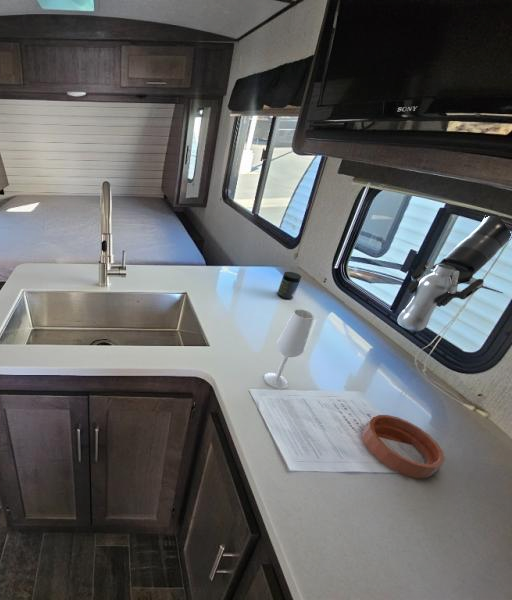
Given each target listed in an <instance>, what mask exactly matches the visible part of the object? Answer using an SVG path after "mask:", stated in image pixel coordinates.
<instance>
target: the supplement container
mask: <svg viewBox="0 0 512 600" xmlns="http://www.w3.org/2000/svg"><path fill="white" fill-rule="evenodd" d="M301 280H302V275H301V274H299V273H296V272H294V271H284V272H283V276H282V278H281V281H280V284H279V287H278V290H277V296H278V297H280V298H281V299H282V300H293V299H294V298H295V295H296V293H297V289H298V287H299V285H300V282H301Z"/></svg>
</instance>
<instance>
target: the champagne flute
mask: <svg viewBox="0 0 512 600" xmlns="http://www.w3.org/2000/svg"><path fill="white" fill-rule="evenodd" d="M314 317H315V316H314V314H313V313H312V312H311V311H308V310H306V309H302V308H296V309H294V310H293V312H292V314H291V315H290V317H289V319H288V321H287V322H286V325H285V327H284V328H283V330H282V332H281V334H280V336H279V338H278V340H277V342H276V346H277V349H278V351H279V353H280V354H281V355H282V359H281V362H280V364H279V366H278V369H277V371H276V373H275V372H267V373H266V374H264V376H263V378H264V381H265V383H266V384H267V385H269V386H270V387H272V388H275V389H278V390H284V389H287V388H288V387H289V381H288V380H287V379H286V378H285V377H284V376H283V375H282V374H283V371H284V369H285V366H286V364H287V361H288V359H289V358H290V359H291V358H296V357H299V356H301V355H303V353H304V351H305V348H306V344H307V340H308V337H309V334H310V331H311V328H312V324H313V321H314Z"/></svg>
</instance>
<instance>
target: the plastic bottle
mask: <svg viewBox="0 0 512 600" xmlns="http://www.w3.org/2000/svg"><path fill="white" fill-rule="evenodd" d="M437 264H438V263H437ZM433 271H434V273H432V274H429V275H427V276H425V275H424V276H425V277H423V276H422V277H423V278H422V279H421V280H420V282H419V285H418V287H417V290H416V292H415V293H414V294H413V295H412V298H411V300H410V302H409V303H408V304H407V306H405V308H404V309H403V310H402V311H401V312H400V313H399V315H398V316H397V319H396V321H397V324H398V325H399V326H401V327H402V328H404V329H406V330H409V331H413V332H420V331H423V330H424V329H425V328H426V327H428V325H429V322H430V319H431V316H432V315H433V313H434V311H435V309H436V307H437V306H436V303H437V302H438V301H439V300H440V299H441V298H442V297H443V296H444V295H445V294H446V293H449V291H450V290H451V289H452V282H451V279H450V276H452V275H453V272H454V271H455V268H454V267H452V266H449V265H444V264H438V265H437V266H436V268H435V269H434V270H433V269H432V272H433Z"/></svg>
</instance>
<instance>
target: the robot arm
mask: <svg viewBox="0 0 512 600" xmlns="http://www.w3.org/2000/svg"><path fill="white" fill-rule="evenodd" d="M510 236H511V233H510V231H509V229H508V228H507V227H506V226H505V224H504V222H503V221H502V220H501V219H500V218H498V217H496V216H492V215H491V216H488V217H486V218H485V217H484V218H483V219H482V221H481V223H480V225H479V226H478V227H477V228H475V230H474V231H472V232H471V233H470V234H469V235H468V236H467V237H466V238H465V239H463V240H462V241H460V242H459V243H458V244H457V245H456V246H455V247H454V248H453V249H452V250H451V251H450V252H449V253H447V255H446V256H444V257H443V259H441V261H439V262H438V263H434V264H433V263H428V260H423V261H421V263H420V264H419V266H417V268H415V270H414V271H413V272H412V274H411V281H412V282H413V283H412V284H411V285H410V286H409V287H408V291H407V293H408V295H409V296H411V297H413V296H414V294H415V292H416V290H417V287H418V285H419V282H420V280H421V279H422V278H423V277H425V276H427V275H429V274H432V273H434V271H433V270H434V269H435V268H436V266H437V265H438V264H444V265H449V266H452V267H454V268H455V271H454V272H453V275H452V276H450V279H451V282H452V289H451V290H450V291H449V292H448V293H446V294H445V295H444V296H443V297H442V298H441V299H440V300H439V301H438V302H437V303H436V307H438V308H441V307H445V306H447V305H448V304H449V303H450V302H451V301H452V300H454V299H460V300H466V299H467V298H468V297H470V296H471V295H473V294H474V293H475V292H477V291H478V290H480V289H481V288H483V286H484V279H483V278H476V277H473V276H474V275H475V274H476V273H477V272H478V271H480V270H481V269H483V267H484V266H485V265H486V264H487V263H488V262H489V261H491V259H493V258H494V257H495V256H496V255H497V254H498V252H499V251H500V250H501V249H502V248H503V247H504V246H505V245H506V244H507V243H508V242H509V241H510V240H509V238H510ZM430 270H432V271H431V272H428V271H430ZM425 272H428V273H426V274H425V275H423V274H424V273H425ZM468 282H469V284H468V286H466V287H465V288H463V289H462V290H461V291H460V290H459V291H458V286H459V285H461V284H464V283H465V284H466V283H468Z"/></svg>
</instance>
